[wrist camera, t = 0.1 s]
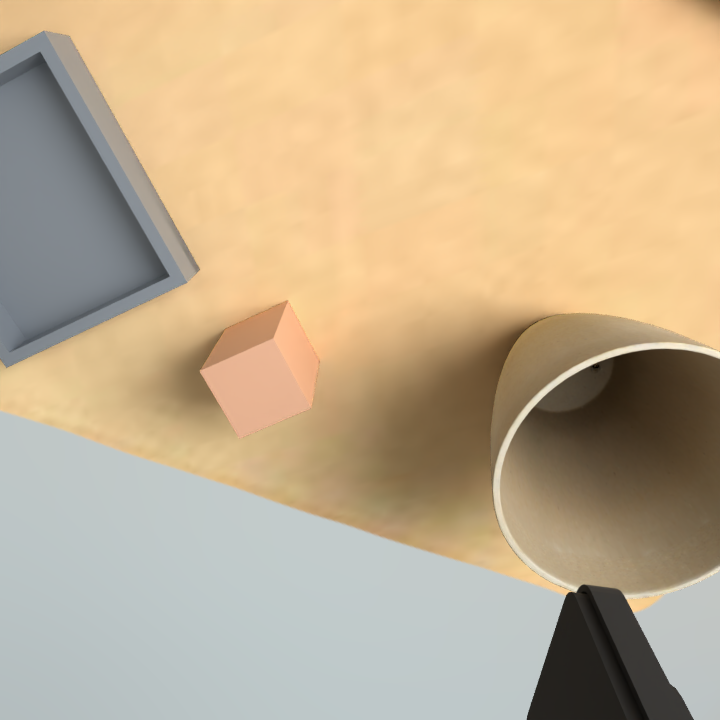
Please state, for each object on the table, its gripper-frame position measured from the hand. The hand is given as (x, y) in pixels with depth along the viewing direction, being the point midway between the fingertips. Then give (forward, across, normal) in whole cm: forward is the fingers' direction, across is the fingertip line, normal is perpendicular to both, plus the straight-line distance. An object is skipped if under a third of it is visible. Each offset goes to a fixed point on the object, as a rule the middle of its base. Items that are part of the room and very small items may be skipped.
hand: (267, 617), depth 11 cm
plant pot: (+37, -17, +8) cm, 42 cm away
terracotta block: (+37, +4, +10) cm, 39 cm away
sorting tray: (+37, +20, +2) cm, 42 cm away
